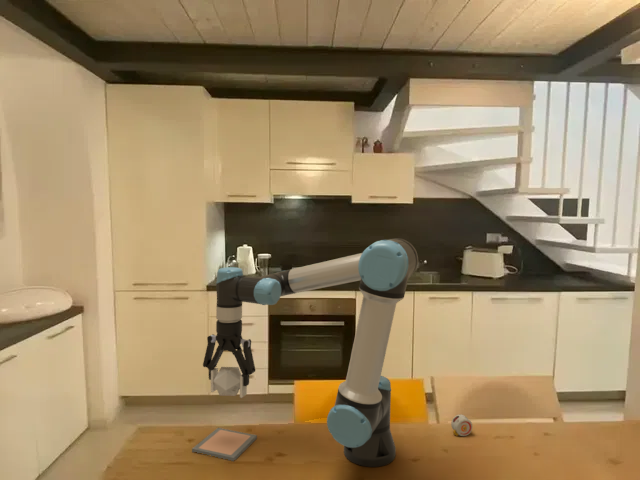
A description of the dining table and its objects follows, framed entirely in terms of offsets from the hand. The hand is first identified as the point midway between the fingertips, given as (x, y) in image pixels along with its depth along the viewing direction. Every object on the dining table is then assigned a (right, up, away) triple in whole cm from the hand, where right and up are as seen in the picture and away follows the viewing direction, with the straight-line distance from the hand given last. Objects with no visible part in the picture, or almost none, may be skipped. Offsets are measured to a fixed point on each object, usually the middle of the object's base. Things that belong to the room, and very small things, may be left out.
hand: (228, 393), depth 138 cm
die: (0, 0, 0) cm, 0 cm away
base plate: (-1, -16, +1) cm, 16 cm away
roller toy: (+73, -16, +9) cm, 75 cm away
